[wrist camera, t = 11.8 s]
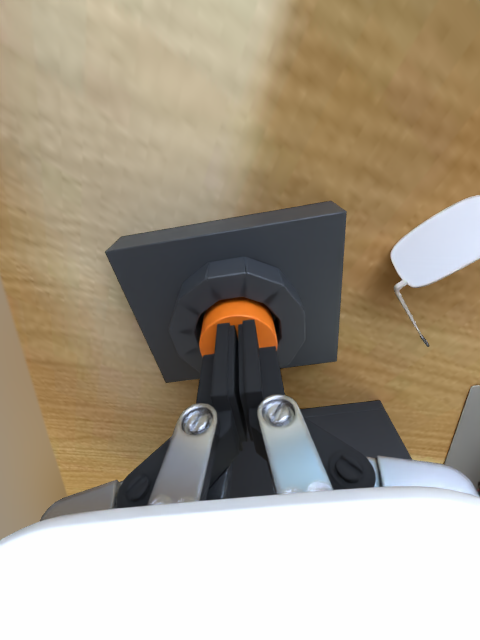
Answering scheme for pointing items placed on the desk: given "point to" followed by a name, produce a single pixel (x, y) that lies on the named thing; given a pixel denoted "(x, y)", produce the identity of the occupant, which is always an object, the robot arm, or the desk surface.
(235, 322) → the button
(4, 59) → the desk surface
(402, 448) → the dark grey cabinet
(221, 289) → the control block
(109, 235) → the desk surface
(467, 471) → the grey desk mat
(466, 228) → the eyeglasses
